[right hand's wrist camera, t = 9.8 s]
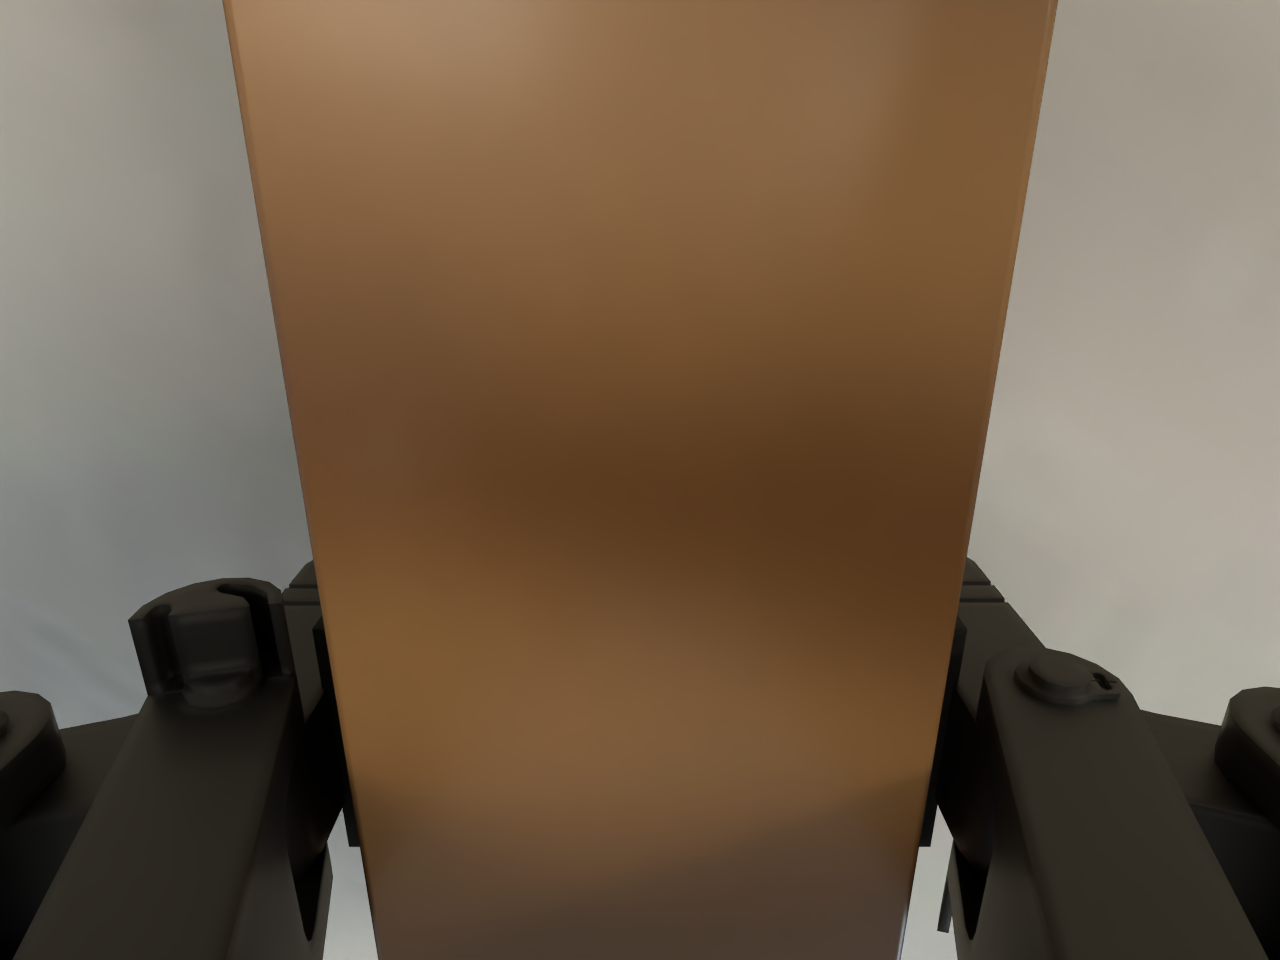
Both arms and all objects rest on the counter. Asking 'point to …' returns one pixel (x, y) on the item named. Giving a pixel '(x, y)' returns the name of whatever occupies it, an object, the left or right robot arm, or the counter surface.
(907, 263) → the beam
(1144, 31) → the counter surface
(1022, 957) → the right robot arm
